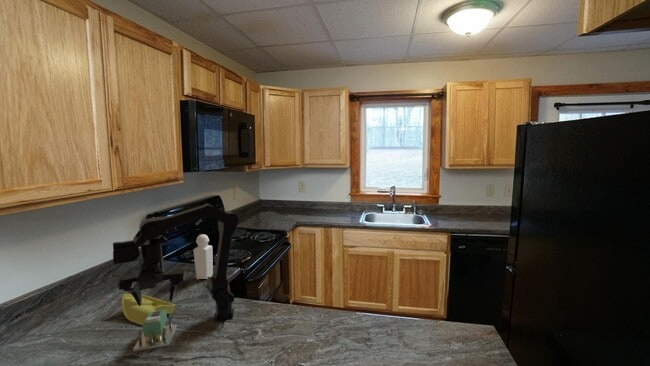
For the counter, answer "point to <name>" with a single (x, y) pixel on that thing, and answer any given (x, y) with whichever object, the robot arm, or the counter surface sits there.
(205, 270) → the white peg figure
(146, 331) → the green block
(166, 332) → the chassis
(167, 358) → the counter surface
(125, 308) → the plastic component
